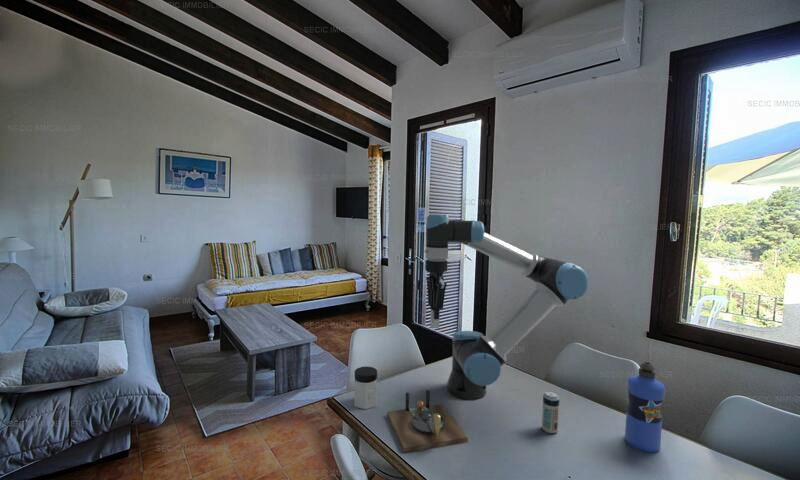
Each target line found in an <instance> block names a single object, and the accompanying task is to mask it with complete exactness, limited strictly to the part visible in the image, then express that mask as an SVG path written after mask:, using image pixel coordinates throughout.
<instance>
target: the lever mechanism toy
mask: <svg viewBox="0 0 800 480" xmlns="http://www.w3.org/2000/svg"><path fill="white" fill-rule="evenodd" d="M430 392H431V391H430V389H426V391H425V394H426V395H425V410H426V411H430V412H432V413H435V414H436V413H438V414H440V415H441V417H442V419H443V420H444V427H443V429H442V430H441V431H440V438H434V437H433V435H432V434H426V433H421V432H419V431H417V430H415V429H414V428H413V426H412V418H413V417H414V416H415V415H416V414H418V413H422V412H421V410H419V409H418V408H417V407H411V408H410V392H408V391H407V392H405V408H404V409H396V410H389V411H388V410H387V411H386V416H387V418H388V420H389V423H390V425H391V427H392V429H393V432H394V434H395V436H396V438H397V440H398V442H399V444H400V446H401V449H402V451H403V453H404V454H406V453H412V452H416V451H417V452H418V451H421V450H423V451H424V450H428V449H434V448H441V447H446V446H451V445H458V444H459V445H460V444H463V443H468V440H469V438H468V436H467V435H466V433H465V432H464V431H463V429H462V428H461V426H460V425H459V424H458V423H457V421H456V420H455V418H454V417H453V416H452V415H451V414H450V412H449V411H448V410H447V409H446V407H445V406H444V404H443V403H440V404H432V405H430V399H431V397H430V395H431V393H430Z"/></svg>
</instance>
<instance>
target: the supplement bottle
mask: <svg viewBox="0 0 800 480" xmlns="http://www.w3.org/2000/svg"><path fill="white" fill-rule="evenodd" d="M542 399H543V400H542V414H541V415H542V418H541V429H542V430H543V431H545V432H546V433H548V434H556V433H558V431H559V418H560V417H559V415H560V400H561V399H560V396H559V393H557V392H555V391H552V390H547V391H545V392H544V394H543V398H542Z"/></svg>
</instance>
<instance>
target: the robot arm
mask: <svg viewBox="0 0 800 480" xmlns="http://www.w3.org/2000/svg"><path fill="white" fill-rule="evenodd" d="M425 225H426V227H425V236H426V237H425V250H424V253H425V259H426V260H425V261H424V262H425V263H424V264H425V265H424V269H425V271H426V272H428V274H429V275H428V276H426V279H425V280H426V286H427V287H426V288H427V301H428V302H427V304H428V305H429V308H430V327H429V328H431V329H439V328H440V320H441V319H440V316H441V315H440V314H441V312H440V311H441V310H443V308H444V301H445V293H446V288H447V282H444V273H446V272H447V271H448V265H449V264H448V259H449V243H460V244H462V245H465V246H467V247H469V248H471V249H474V250H475V251H478V252H480V253H481V254H483V255H486V256H487V257H489V258H492V259H494V260H496V261H498V262H501V263H502V264H504V265H507V266H509V267H511V268H513V269H515V270H517V271H519V272H521V274H522V276H524V277H526V278H528V279H529V280H531V281H533V282H534V283H535V287H536V288H535V289H534V290H533V291H532V292H531V293H530V294H529V295H528V296H527V297H526V298H525V299H524V300H523V301H522V302H521V303H520V304H519V305H518V306H517V307H515V309H514V310H513V311H512V312H511V313H510V314H509V315H508V316H507V317H506V318H505V319H504V320H503V321H502V322H501V323H500V324H499V325H498V326H496V327H495V329H493V331H491V333H490V334H489V335H484V333H481V332H478V331H476V330H475V331H474V330H461V331H460V330H459V331H458V330H457V331H456V332H454V333H453V335H452V336H453V337H452V359H451V361H452V363H451V371H450V374H449V377H448V380H447V384H446V390H447V392H448V393H449V394H450V395H452V396H454V397H455V398H458V399H462V400H478V399H483V398H484V397H485V396H486V394H487V386H490V385H492V384H494V383H496V381H497V380H498V379H499V378H500V376H501V371H502V370H501V369H502V368H501V367H503V365H504V364H505V363H506V362H507V355H508V354H509V353H510V352H511V351H512V350H513V348H515V347H516V346H517V345H518V344H519V343H520V342H521V341H522V340H523V339H525V337H527V335H528V334H529V333H530V332H531V331H532V330H533V329H534V328H535V327H536V326H538V324H539V323H540V322H542V320H543V319H545V317H546V316H548V315H549V313H550V312H551V311H553V309H554V308H556V307H564V306H565V304H566V303H567V302H569V301H570V300H572V301H573V300H577V299H580V298H582V297H583V296H584V295H585V293H587V291H588V288H589V287H588V286H589V278H588V275H587V273H586V271H585V270H584V269H583V268H582V267H580V266H579V265H577V264H574V263H573V262H566V261H562V260H558V259H553V258H549V257H545V256H542V255H539V254H537V253H535V252H533V253H529V252H526V251H525V250H523V249H521V248H518V247H516V246H515V245H512V244H510V243H508V242H506V241H504V240H502V239H500V238H498V237H496V236H494V235H491V234H489V233H487V232H486V231H485V225H484V223H483V222H482V221H480V220H461V219H453V220H451V219H450V218H449V215H448V214H432V213H431V214H428V215H427V217H426V224H425Z"/></svg>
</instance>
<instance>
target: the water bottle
mask: <svg viewBox="0 0 800 480" xmlns="http://www.w3.org/2000/svg"><path fill="white" fill-rule="evenodd" d="M655 370H656V368H655V367H654V365H653V364H652V363H650V362H647V361H645V362H643V363H641V364H639V368H638V371H637V372H638V375H633V376H632V375H631V376H629V377H628V378H627V391H628V392H627V393H628V404H627V409H626V413H625V414H626V415H625V426H624V427H625V428H624V429H625V431H624V432H625V433H624V441H625V442H626V443H627V444H628V446H629V445H630V447H632V448H634V449H635V450H638V451H640V452H644V453H651V454H652V453H653V454H654V453H659V452H660V450H661V443H662V441H661V440H662V429H663V417H662V409H663V408H662V407H663V403H664V400H665V395H666V385H664V384H663V383H662V382H660V381H659V380H657V379H655V378H656V371H655Z"/></svg>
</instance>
